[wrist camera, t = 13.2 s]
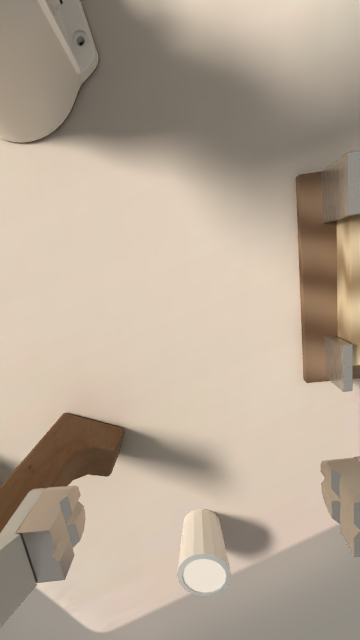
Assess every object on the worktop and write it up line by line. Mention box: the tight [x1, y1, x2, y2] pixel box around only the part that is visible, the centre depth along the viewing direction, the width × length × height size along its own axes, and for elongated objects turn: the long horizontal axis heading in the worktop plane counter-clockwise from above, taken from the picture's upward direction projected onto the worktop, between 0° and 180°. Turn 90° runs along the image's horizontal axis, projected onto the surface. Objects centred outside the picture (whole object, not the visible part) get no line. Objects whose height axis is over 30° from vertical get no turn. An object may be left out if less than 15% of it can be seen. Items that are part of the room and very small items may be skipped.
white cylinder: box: [177, 509, 231, 596], centre depth 37 cm, size 7×7×7 cm
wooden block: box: [0, 413, 124, 533], centre depth 29 cm, size 9×4×18 cm, turn 75°
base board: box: [296, 172, 360, 383], centre depth 32 cm, size 25×12×1 cm, turn 7°
